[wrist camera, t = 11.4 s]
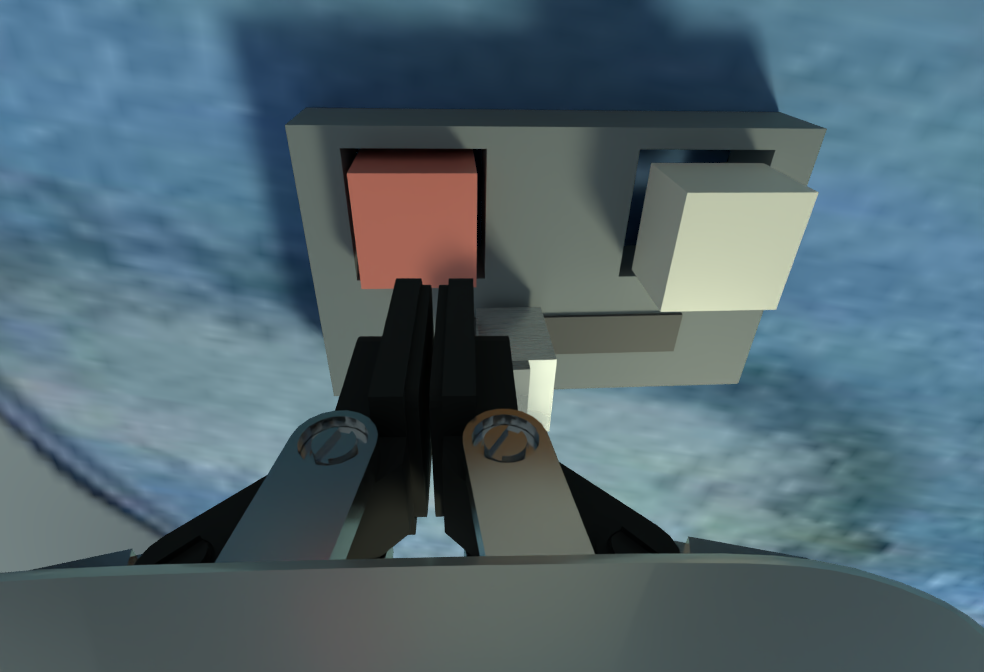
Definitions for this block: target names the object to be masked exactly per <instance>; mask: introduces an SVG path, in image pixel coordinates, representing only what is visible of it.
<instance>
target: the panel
mask: <svg viewBox="0 0 984 672" xmlns="http://www.w3.org/2000/svg"><path fill="white" fill-rule="evenodd" d="M285 128H286V134H287V139H288V145H289V150H290V156H291V161H292V167H293V172H294V178H295V183H296V189H297V194H298V200H299V205H300V211H301V216H302V222H303V227H304V233H305V238H306V244H307V249H308V255H309V260H310V266H311V271H312V277H313V282H314V288H315V293H316V299H317V304H318V310H319V315H320V321H321V326H322V332H323V337H324V343H325V348H326V354H327V359H328V365H329V370H330V376H331V381H332V387H333V392H334V396H340V393H341V390H342V387H343V383H344V380H345V377H346V374H347V370H348V367H349V364H350V361H351V357H352V354H353V351H354V348H355V344H356V341H357V339H358V337H360V336H382V335H383V330H384V326H385V322H386V318H387V314H388V310H389V305H390V301H391V297H392V293H393V289H361V281H360V273H359V265H358V257H357V250H356V242H355V234H354V226H353V218H352V210H351V202H350V195H349V187H348V179H347V172H348V170H349V168H350V167H351V165H352V163H353V161H354V159H355V157H356V150H355V148H414V149H481V241H480V247H477V277H476V287H474V326H475V336H476V308H512V307H541V309H542V313H543V316H544V319H545V322H546V326H547V329H548V332H549V336H550V339H551V342H552V345H553V349H554V352H555V355H556V358H557V363H556V372H555V381H554V389H578V388H610V387H643V386H675V385H707V384H738V382H739V379H740V376H741V373H742V370H743V368H744V365H745V362H746V359H747V356H748V353H749V350H750V347H751V345H752V342H753V339H754V336H755V333H756V330H757V327H758V325H759V322H760V319H761V316H762V313H763V310H732V311H682V312H660V311H659V309H658V308H657V306H656V305H655V303H654V302H653V300H652V299H651V297H650V296H649V294H648V293H647V291H646V290H645V288H644V287H643V285H642V284H641V282H640V281H639V279H638V278H637V277H636V275H635V274H634V272H633V271H632V265H633V260H634V255H635V249H636V245H624V241H625V235H626V229H627V223H628V217H629V212H630V206H631V200H632V194H633V188H634V182H635V176H636V170H637V164H638V158H639V152H640V149H680V150H730V154H729V158H728V162H727V163H764V164H766V165H768V166H770V167H772V168H774V169H776V170H778V171H779V172H781V173H783V174H785V175H787V176H789V177H791V178H792V179H794V180H796V181H798V182H800V183H802V184H804V185H806V186H807V184H808V181H809V178H810V176H811V173H812V170H813V167H814V164H815V161H816V158H817V156H818V153H819V150H820V147H821V144H822V141H823V138H824V135H825V133H826V130H827V129H826V128H823V127H820V126H817V125H815V124H812V123H809V122H806V121H803V120H801V119H798V118H795V117H792V116H789V115H787V114H784V113H781V112H711V111H604V110H497V109H391V108H305V109H304V110H302V111H301V112H300V113H299V114H298V115H296V116H295V117H294V118H293V119H292V120H290V121H289V122H288V123H287V124H286V125H285ZM438 290H439V288H432V302H433V323H434V334H435V323H436V312H437V301H438Z"/></svg>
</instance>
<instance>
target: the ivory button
mask: <svg viewBox="0 0 984 672" xmlns="http://www.w3.org/2000/svg"><path fill="white" fill-rule="evenodd" d="M818 193H819V192H817V191H815V190H813V189H811V188H809V187H807V186H806V185H804V184H802V183H800V182H798V181H796V180H794V179H792V178H791V177H789V176H787V175H785V174H783V173H781V172H779V171H778V170H776V169H774V168H772V167H770V166H768V165H766V164H764V163H651V167H650V173H649V178H648V184H647V189H646V194H645V200H644V205H643V211H642V216H641V222H640V227H639V233H638V238H637V244H636V249H635V255H634V260H633V265H632V271H633V272H634V274H635V275H636V277H637V278H638V279H639V281H640V282H641V284H642V285H643V287H644V288H645V290H646V291H647V293H648V294H649V296H650V297H651V299H652V300H653V302H654V303H655V305H656V306H657V308H658V309H659V311H660V312H682V311H732V310H776V308H777V305H778V303H779V300H780V297H781V294H782V292H783V289H784V286H785V283H786V281H787V278H788V275H789V272H790V270H791V267H792V264H793V261H794V259H795V256H796V253H797V250H798V248H799V245H800V242H801V239H802V237H803V234H804V231H805V228H806V226H807V223H808V220H809V217H810V215H811V212H812V209H813V206H814V204H815V201H816V198H817V195H818Z"/></svg>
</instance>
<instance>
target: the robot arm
mask: <svg viewBox="0 0 984 672" xmlns="http://www.w3.org/2000/svg"><path fill="white" fill-rule="evenodd" d="M431 460H432V463H433V480H434V498H435V514H436V517H442V516H444V523H445V533H446V534H447V535H449V536H450V537H451V538H452V539H453V540H454V541H455V542H457V543H458V544H459V545H460V546H461V547H462V548H463V549H464V557H429V558H393V553H394V551H393V546H395V545H396V544H397V543H398V542H399V541H401V540H402V539H403V538H404V537H406V536H407V535H415V534H416V523H417V517H427V513H428V501H429V487H430V473H431ZM0 672H984V628H983V627H982V626H981V625H979V624H978V623H977V622H975V621H974V620H973V619H972V618H970V617H969V616H968V615H966V614H965V613H963V612H961V611H960V610H958V609H956V608H955V607H953V606H952V605H950V604H948V603H947V602H945V601H943V600H941V599H938V598H936V597H934V596H932V595H930V594H928V593H926V592H923V591H921V590H919V589H916V588H914V587H911V586H909V585H906V584H904V583H901V582H898V581H895V580H892V579H888V578H885V577H882V576H878V575H875V574H872V573H869V572H866V571H862V570H859V569H856V568H852V567H847V566H842V565H837V564H832V563H827V562H822V561H817V560H811V559H808V558H804V557H798V556H793V555H787V554H782V553H776V552H771V551H765V550H760V549H754V548H749V547H743V546H738V545H732V544H727V543H721V542H716V541H710V540H705V539H699V538H694V537H688V539H687V541H686V543H683V542H678V541H673V540H672V538H671V537H670V536H669V535H668V534H667V533H666V532H665V531H663V530H662V529H661V528H660V527H658V526H657V525H656V524H654V523H653V522H651V521H650V520H648V519H646V518H645V517H643V516H642V515H640V514H639V513H637V512H636V511H634V510H633V509H631V508H629V507H628V506H626V505H625V504H623V503H622V502H620V501H619V500H617V499H616V498H614V497H612V496H611V495H609V494H608V493H606V492H605V491H603V490H602V489H600V488H599V487H597V486H595V485H594V484H592V483H591V482H589V481H588V480H586V479H585V478H583V477H582V476H580V475H578V474H577V473H575V472H574V471H572V470H571V469H569V468H568V467H566V466H565V465H563V464H561V463H560V462H559V461H558V459H557V456H556V453H555V451H554V448H553V446H552V443H551V441H550V438H549V436H548V433H547V431H546V430H545V428H544V426H543V425H542V423H540V422H539V421H538V420H537V419H535V418H534V417H533V416H531V415H529V414H527V413H524V412H522V411H518V405H517V397H516V389H515V380H514V372H513V364H512V356H511V348H510V340H509V336H475V326H474V285H473V278H449V282H448V285H439V290H438V301H437V312H436V323H435V334H434V323H433V302H432V286H431V285H423V284H422V278H396V280H395V284H394V289H393V293H392V297H391V301H390V305H389V310H388V314H387V318H386V322H385V326H384V330H383V335H382V336H360V337H358V339H357V341H356V344H355V348H354V351H353V354H352V357H351V361H350V364H349V367H348V370H347V374H346V377H345V380H344V383H343V387H342V390H341V393H340V396H339V400H338V403H337V406H336V409H335V411H331V412H326V413H322V414H319V415H317V416H315V417H312V418H310V419H308V420H307V421H306V422H304V423H303V424H301V425H300V426H299V427H298V428H297V429H296V430H295V431H294V433H293V434H292V435H291V436H290V438H289V440H288V441H287V443H286V445H285V446H284V448H283V450H282V451H281V453H280V455H279V456H278V458H277V460H276V461H275V463H274V465H273V466H272V468H271V470H270V471H269V473H268V475H266V476H265V477H263V478H261V479H260V480H258V481H256V482H255V483H253V484H251V485H250V486H248V487H246V488H244V489H243V490H241V491H239V492H238V493H236V494H234V495H233V496H231V497H229V498H228V499H226V500H224V501H223V502H221V503H219V504H217V505H216V506H214V507H212V508H211V509H209V510H207V511H206V512H204V513H202V514H201V515H199V516H197V517H196V518H194V519H192V520H190V521H189V522H187V523H185V524H184V525H182V526H180V527H179V528H177V529H175V530H174V531H172V532H170V533H169V534H167V535H165V536H164V537H162V538H161V539H159V540H158V541H157V542H155V543H154V544H153V545H151V546H150V547H149V548H148V549H147V550H146V551H145V552H144V553H143V554H141V555H136V554H135V552H134V551H133V549H128V550H123V551H119V552H114V553H110V554H104V555H100V556H95V557H90V558H86V559H81V560H76V561H71V562H66V563H62V564H57V565H52V566H48V567H42V568H38V569H33V570H28V571H16V572H5V573H0Z"/></svg>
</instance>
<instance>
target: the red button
mask: <svg viewBox="0 0 984 672" xmlns="http://www.w3.org/2000/svg"><path fill="white" fill-rule="evenodd" d="M347 179H348V187H349V195H350V202H351V210H352V218H353V226H354V234H355V242H356V250H357V257H358V265H359V273H360V281H361V289H394V284H395V280H396V278H422V284H423V285H431V286H432V288H439V285H448V282H449V278H473V285H474V287H476V277H477V170H476V164H475V159H474V153H473V149H414V148H360V150H359V152H358V154H357V155H356V157H355V159H354V161H353V163H352V165H351V167H350V168H349V170H348V172H347Z"/></svg>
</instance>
